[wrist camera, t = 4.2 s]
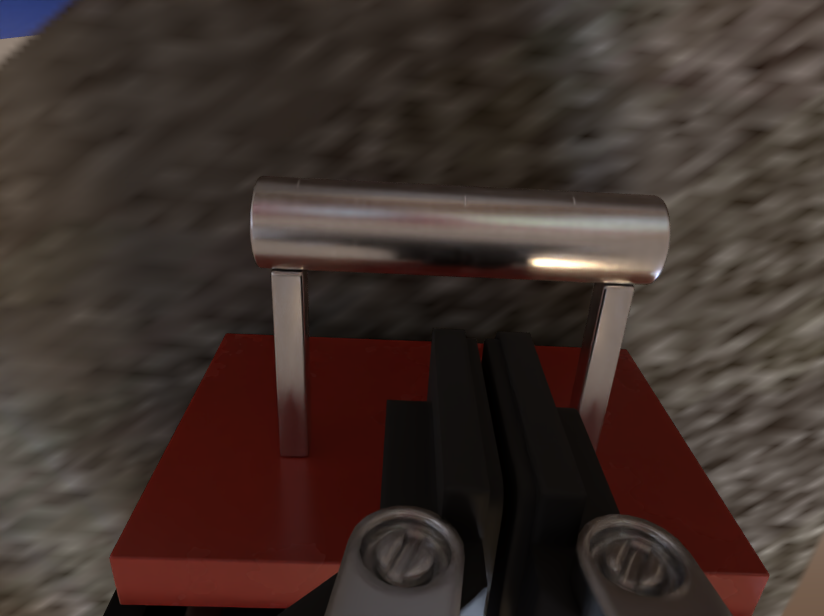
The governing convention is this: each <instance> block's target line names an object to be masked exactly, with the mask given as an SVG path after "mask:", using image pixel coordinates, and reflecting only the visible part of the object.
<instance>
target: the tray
mask: <svg viewBox="0 0 824 616" xmlns="http://www.w3.org/2000/svg"><path fill="white" fill-rule="evenodd" d="M670 234H671V230H670V218H669V213H668V209H667V207H666V204H665V203H664V201H663V200H662V199H661V198H659V197H658V196H655V195H639V194H619V193H599V192H579V191H558V190H538V189H518V188H498V187H477V186H457V185H437V184H416V183H396V182H376V181H356V180H335V179H315V178H295V177H274V176H261V177H259V178H258V179H257V180H256V183H255V186H254V189H253V193H252V198H251V206H250V243H251V250H252V255H253V258H254V261H255V264H256V265H257V266H258V267H260V268H270V269H272V271H271V292H272V311H273V330H274V335H257V334H232V333H227V334H225V336H224V338H223V340H222V342H221V344H220V346H219V348H218V350H217V352H216V354H215V356H214V357H213V359H212V361H211V363H210V365H209V367H208V369H207V371H206V373H205V375H204V377H203V379H202V380H201V382H200V384H199V386H198V388H197V390H196V392H195V394H194V396H193V398H192V400H191V402H190V403H189V405H188V407H187V409H186V411H185V413H184V415H183V417H182V419H181V421H180V423H179V425H178V426H177V428H176V430H175V432H174V434H173V436H172V438H171V440H170V442H169V444H168V446H167V448H166V449H165V451H164V453H163V455H162V457H161V459H160V461H159V463H158V465H157V467H156V469H155V471H154V472H153V474H152V476H151V478H150V480H149V482H148V484H147V486H146V488H145V490H144V492H143V494H142V495H141V497H140V499H139V501H138V503H137V505H136V507H135V509H134V511H133V513H132V515H131V517H130V519H129V520H128V522H127V524H126V526H125V528H124V530H123V532H122V534H121V536H120V538H119V540H118V542H117V543H116V545H115V547H114V549H113V551H112V553H111V555H110V563H111V568H112V572H113V576H114V581H115V585H116V589H117V594H118V598H119V602H120V604H121V605H152V606H187V607H186V610H185V613H184V616H277V615H278V614H280V613H281V612H283V611H284V610H285V609H287V608H288V607H290V606H291V605H292V604H294V603H295V602H297V601H298V600H300V599H301V598H302V597H304V596H305V595H307V594H308V593H309V592H311V591H312V590H314V589H315V588H316V587H318V586H319V585H321V584H322V583H323V582H325V581H326V580H328V579H329V578H330V577H332V576H333V575H335V574H336V573H338V571H339V567H340V564H341V561H342V558H343V555H344V551H345V548H346V545H347V542H348V539H349V537H350V535H351V533H352V531H353V530H354V528H355V526H356V525H357V524H358V523H359V522H360V521H361V520H363V519H364V518H365V517H366V516H367V515H369V514H371V513H373V512H375V511H377V510H380V499H381V483H382V467H383V451H384V435H385V420H386V404H387V400H408V401H427V393H428V380H429V368H430V355H431V342H432V341H407V340H382V339H357V338H332V337H309V299H308V270H315V271H338V272H361V273H384V274H407V275H429V276H452V277H475V278H498V279H521V280H543V281H566V282H589V283H594V287H593V292H592V297H591V302H590V307H589V312H588V317H587V322H586V327H585V331H584V336H583V341H582V346H581V347H557V346H535V349H536V352H537V354H538V357H539V360H540V363H541V366H542V369H543V371H544V374H545V377H546V380H547V383H548V386H549V388H550V391H551V394H552V397H553V400H554V403H555V405H556V407H564V408H575V409H577V410H578V412H579V414H580V416H581V418H582V421H583V423H584V426H585V428H586V431H587V433H588V436H589V438H590V440H591V443H592V445H593V448H594V450H595V453H596V455H597V458H598V460H599V463H600V465H601V468H602V470H603V473H604V475H605V478H606V480H607V483H608V485H609V487H610V490H611V492H612V495H613V497H614V500H615V502H616V505H617V507H618V510H619V512H620V514H621V515H630V516H634V517H638V518H642V519H646V520H648V521H650V522H652V523H654V524H656V525H658V526H660V527H662V528H664V529H665V530H667V531H668V532H669V533H671V534H672V535H673V536H675V537H676V538H677V539H678V540H679V541H680V542H681V543H682V544H683V545H684V546H685V547H686V549H687V550H688V551H689V552H690V553H691V555H692V556H693V558H694V559H695V561H696V562H697V564H698V565H699V566H700V568H701V569H702V571H703V572H704V574H705V575H706V577H707V578H708V580H709V581H710V583H711V584H712V585H713V587H714V588H715V590H716V591H717V593H718V594H719V596H720V597H721V599H722V600H723V602H724V603H725V604H726V606H727V607H728V609H729V610H730V612H731V613H732V615H733V616H752V614H753V612H754V610H755V607H756V605H757V603H758V601H759V598H760V596H761V594H762V592H763V589H764V587H765V585H766V583H767V580H768V578H769V573H768V571H767V570H766V568H765V566H764V565H763V563H762V562H761V560H760V559H759V557H758V555H757V554H756V552H755V551H754V549H753V548H752V546H751V544H750V543H749V541H748V540H747V538H746V537H745V535H744V533H743V532H742V530H741V529H740V527H739V526H738V524H737V522H736V521H735V519H734V518H733V516H732V515H731V513H730V511H729V510H728V508H727V507H726V505H725V504H724V502H723V500H722V499H721V497H720V496H719V494H718V492H717V491H716V489H715V488H714V486H713V485H712V483H711V481H710V480H709V478H708V477H707V475H706V474H705V472H704V470H703V469H702V467H701V466H700V464H699V463H698V461H697V459H696V458H695V456H694V455H693V453H692V452H691V450H690V448H689V447H688V445H687V444H686V442H685V441H684V439H683V437H682V436H681V434H680V433H679V431H678V430H677V428H676V426H675V425H674V423H673V422H672V420H671V419H670V417H669V415H668V414H667V412H666V411H665V409H664V407H663V406H662V404H661V403H660V401H659V400H658V398H657V396H656V395H655V393H654V392H653V390H652V389H651V387H650V385H649V384H648V382H647V381H646V379H645V378H644V376H643V374H642V373H641V371H640V370H639V368H638V367H637V365H636V363H635V362H634V360H633V359H632V357H631V356H630V354H629V352H628V351H627V350H626V349H621V345H622V341H623V337H624V333H625V329H626V324H627V320H628V316H629V312H630V307H631V303H632V299H633V295H634V290H635V289H634V286H633V285H632V284H635V285H648V284H651V283H653V282H654V281H656V280H657V279H658V277H659V276H660V274H661V272H662V270H663V268H664V266H665V263H666V260H667V256H668V252H669V246H670ZM477 344H478V350H479V355H480V360H481V361H482V353H483V345H484V344H482V343H477Z"/></svg>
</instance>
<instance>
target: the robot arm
mask: <svg viewBox="0 0 824 616" xmlns="http://www.w3.org/2000/svg"><path fill="white" fill-rule="evenodd" d="M277 616H733V615H732V613H731V612H730V610H729V609H728V607H727V606H726V604H725V603H724V602H723V600H722V599H721V597H720V596H719V594H718V593H717V591H716V590H715V588H714V587H713V585H712V584H711V583H710V581H709V580H708V578H707V577H706V575H705V574H704V572H703V571H702V569H701V568H700V566H699V565H698V564H697V562H696V561H695V559H694V558H693V556H692V555H691V553H690V552H689V551H688V550H687V549H686V547H685V546H684V545H683V544H682V543H681V542H680V541H679V540H678V539H677V538H676V537H675V536H673V535H672V534H671V533H669V532H668V531H667V530H665V529H664V528H662V527H660V526H658V525H656V524H654V523H652V522H650V521H648V520H646V519H642V518H638V517H634V516H630V515H621V514H620V512H619V510H618V507H617V505H616V502H615V500H614V497H613V495H612V492H611V490H610V487H609V485H608V483H607V480H606V478H605V475H604V473H603V470H602V468H601V465H600V463H599V460H598V458H597V455H596V453H595V450H594V448H593V445H592V443H591V440H590V438H589V436H588V433H587V431H586V428H585V426H584V423H583V421H582V418H581V416H580V414H579V412H578V410H577V409H575V408H564V407H556V405H555V403H554V400H553V397H552V394H551V391H550V388H549V386H548V383H547V380H546V377H545V374H544V371H543V369H542V366H541V363H540V360H539V357H538V354H537V352H536V349H535V346H534V343H533V340H532V338H531V335H530V333H522V332H501V331H498V332H497V333H496V337H495V339H485V341H484V345H483V353H482V361H481V360H480V355H479V350H478V344H477V340H476V338H466V335H465V331H464V330H459V329H438V328H433V332H432V342H431V355H430V368H429V380H428V393H427V401H408V400H387V404H386V420H385V435H384V451H383V467H382V483H381V499H380V510H377V511H375V512H373V513H371V514H369V515H367V516H366V517H365V518H364V519H363V520H361V521H360V522H359V523H358V524H357V525H356V526H355V528H354V530H353V531H352V533H351V535H350V537H349V539H348V542H347V545H346V548H345V551H344V555H343V558H342V561H341V564H340V567H339V571H338V573H336V574H335V575H333V576H332V577H330V578H329V579H328V580H326V581H325V582H323V583H322V584H321V585H319V586H318V587H316V588H315V589H314V590H312V591H311V592H309V593H308V594H307V595H305V596H304V597H302V598H301V599H300V600H298V601H297V602H295V603H294V604H292V605H291V606H290V607H288V608H287V609H285V610H284V611H283V612H281V613H280V614H278V615H277Z"/></svg>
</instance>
